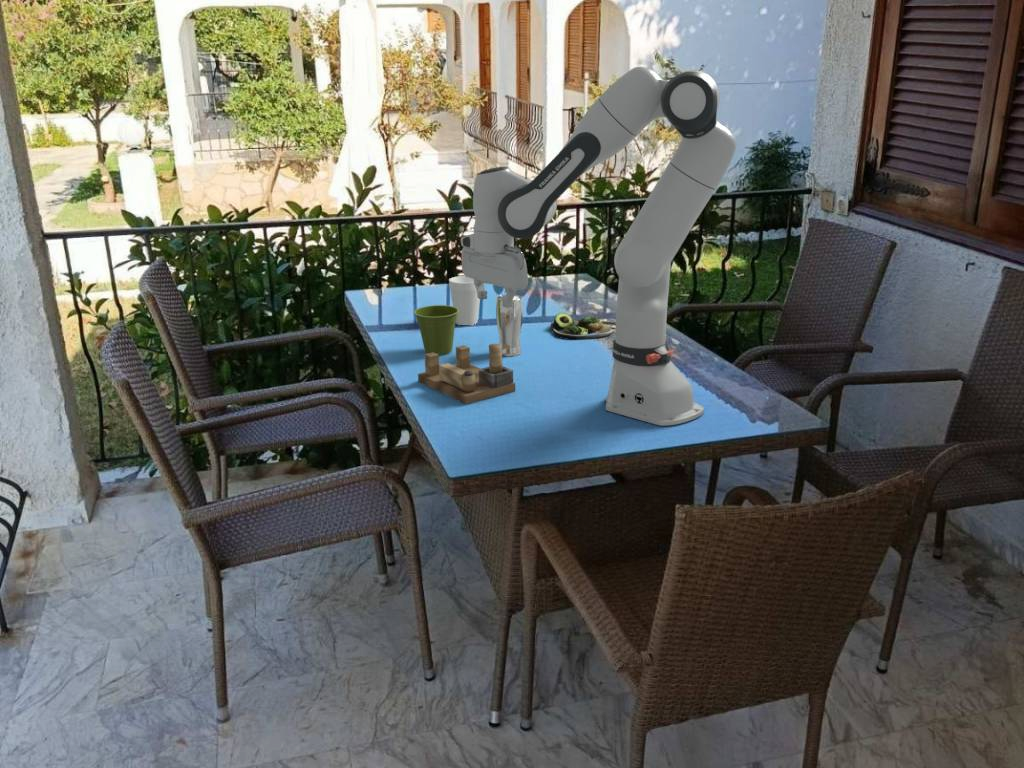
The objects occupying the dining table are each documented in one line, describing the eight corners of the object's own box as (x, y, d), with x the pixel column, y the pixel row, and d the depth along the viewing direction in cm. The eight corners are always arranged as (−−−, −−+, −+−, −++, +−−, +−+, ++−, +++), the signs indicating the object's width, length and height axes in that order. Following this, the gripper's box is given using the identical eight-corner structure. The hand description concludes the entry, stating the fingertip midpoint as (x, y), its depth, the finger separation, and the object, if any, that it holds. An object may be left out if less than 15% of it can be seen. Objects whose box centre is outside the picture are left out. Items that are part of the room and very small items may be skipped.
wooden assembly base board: (515, 391, 216) (515, 362, 214) (466, 404, 208) (465, 375, 206) (465, 369, 231) (465, 343, 229) (418, 381, 223) (417, 354, 221)
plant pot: (425, 343, 252) (423, 303, 249) (466, 347, 249) (465, 306, 245) (408, 356, 242) (406, 314, 238) (451, 360, 238) (449, 318, 235)
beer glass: (520, 357, 240) (519, 301, 235) (493, 356, 241) (493, 300, 236) (525, 349, 246) (525, 294, 241) (499, 348, 248) (498, 293, 243)
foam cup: (475, 328, 266) (474, 284, 261) (445, 326, 269) (444, 282, 264) (486, 320, 274) (485, 276, 270) (457, 317, 277) (456, 275, 273)
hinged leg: (478, 389, 210) (477, 372, 209) (467, 392, 208) (466, 375, 207) (449, 376, 219) (448, 360, 217) (438, 379, 217) (437, 362, 216)
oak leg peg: (505, 382, 216) (504, 345, 213) (494, 385, 214) (494, 348, 211) (497, 379, 218) (496, 342, 215) (487, 382, 216) (486, 345, 213)
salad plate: (611, 321, 273) (611, 306, 272) (626, 338, 256) (626, 322, 255) (546, 324, 271) (546, 309, 269) (557, 342, 254) (557, 326, 252)
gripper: (534, 247, 199) (534, 309, 204) (478, 234, 214) (479, 292, 219) (511, 251, 195) (512, 314, 200) (456, 237, 211) (457, 296, 215)
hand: (494, 302), depth 210 cm, fingers open, 8 cm apart
